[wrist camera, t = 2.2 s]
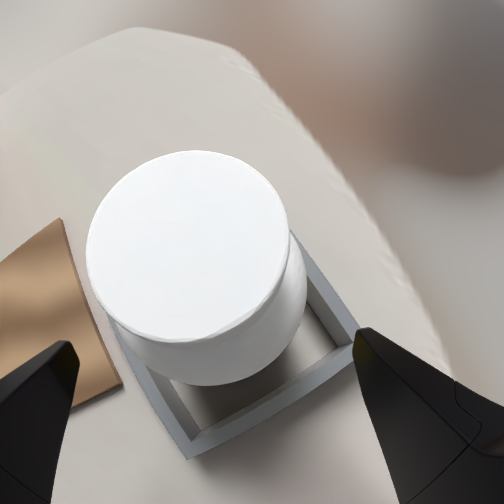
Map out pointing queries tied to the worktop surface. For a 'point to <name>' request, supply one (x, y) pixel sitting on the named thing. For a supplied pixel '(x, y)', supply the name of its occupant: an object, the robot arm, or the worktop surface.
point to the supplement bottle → (198, 267)
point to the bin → (199, 441)
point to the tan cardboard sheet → (50, 312)
